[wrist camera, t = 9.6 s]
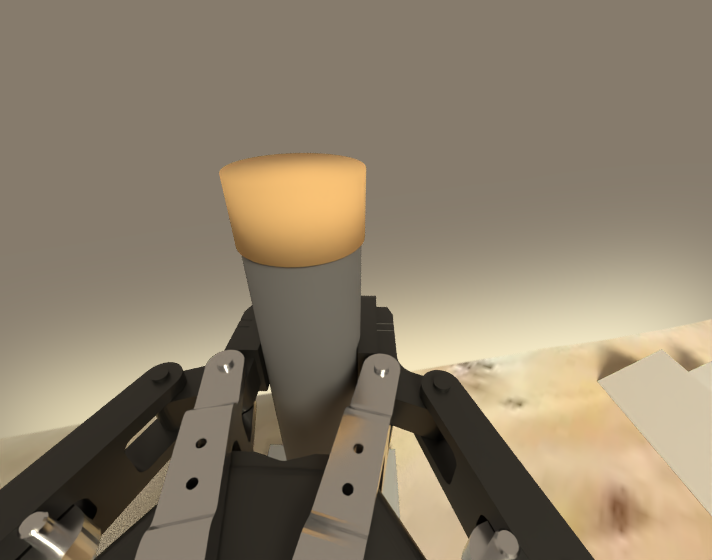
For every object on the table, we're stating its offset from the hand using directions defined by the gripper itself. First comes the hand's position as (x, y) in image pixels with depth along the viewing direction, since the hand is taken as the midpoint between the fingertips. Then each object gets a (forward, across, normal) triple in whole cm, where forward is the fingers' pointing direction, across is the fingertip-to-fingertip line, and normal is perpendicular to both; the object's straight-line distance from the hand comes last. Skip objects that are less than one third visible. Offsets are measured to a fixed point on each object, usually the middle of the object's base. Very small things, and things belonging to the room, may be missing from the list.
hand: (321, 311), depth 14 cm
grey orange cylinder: (-3, 0, +9) cm, 9 cm away
